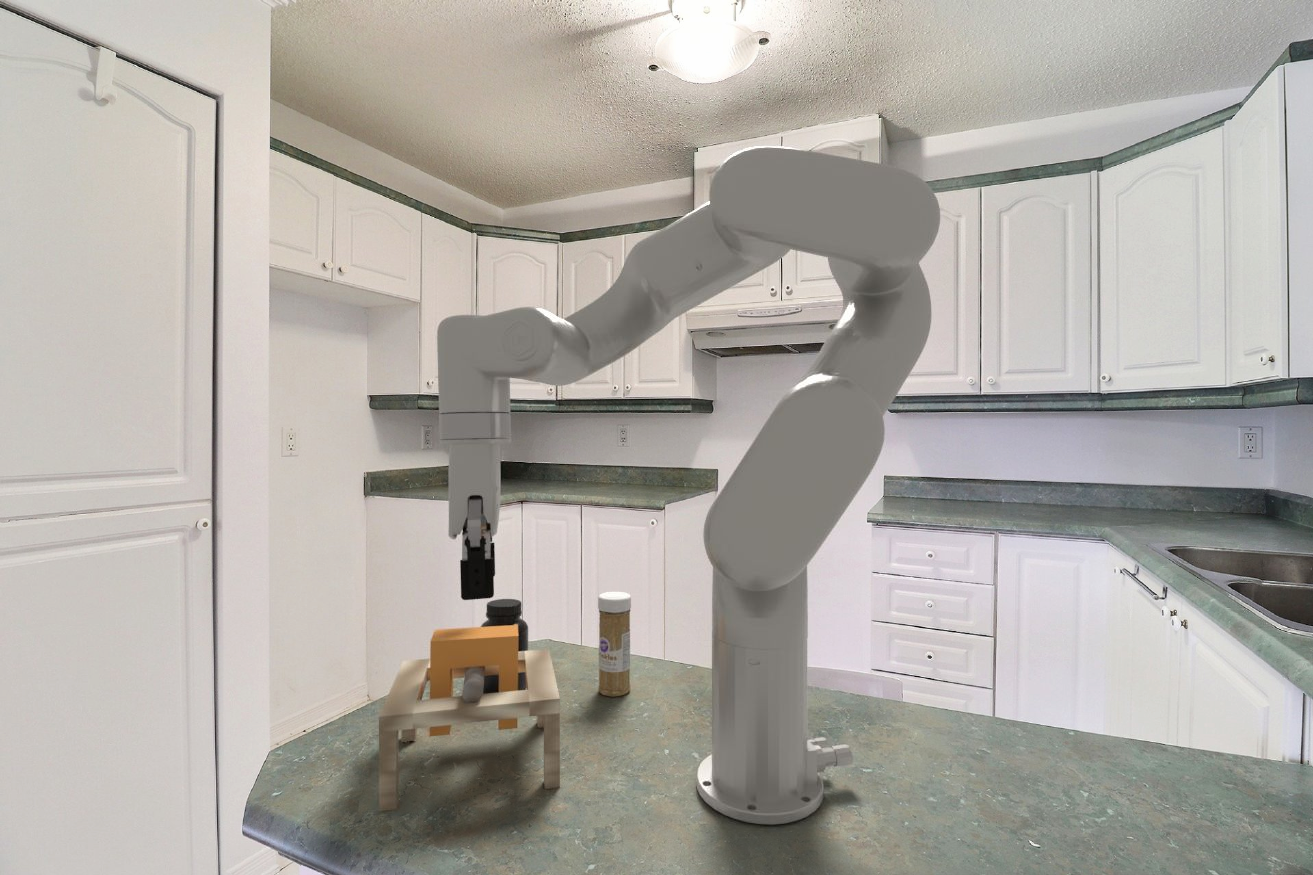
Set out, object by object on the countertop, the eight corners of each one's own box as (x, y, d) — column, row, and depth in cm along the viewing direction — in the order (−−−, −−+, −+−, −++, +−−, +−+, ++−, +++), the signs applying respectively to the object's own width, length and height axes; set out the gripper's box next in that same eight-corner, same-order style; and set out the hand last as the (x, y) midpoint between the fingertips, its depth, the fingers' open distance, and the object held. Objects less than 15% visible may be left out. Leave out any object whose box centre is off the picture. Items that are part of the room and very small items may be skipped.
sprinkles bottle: (591, 694, 86) (591, 596, 86) (609, 682, 90) (609, 589, 90) (620, 700, 84) (620, 600, 84) (637, 688, 88) (637, 592, 88)
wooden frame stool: (549, 721, 78) (549, 632, 78) (559, 787, 63) (559, 678, 63) (403, 736, 74) (403, 643, 74) (379, 811, 59) (378, 695, 59)
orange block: (516, 712, 72) (517, 624, 72) (517, 728, 68) (518, 635, 68) (433, 719, 69) (434, 629, 69) (429, 736, 66) (430, 641, 66)
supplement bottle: (522, 698, 85) (521, 609, 85) (471, 697, 85) (471, 609, 85) (533, 678, 92) (532, 596, 92) (486, 677, 92) (486, 596, 92)
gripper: (446, 432, 76) (450, 573, 76) (430, 430, 59) (434, 611, 59) (510, 431, 78) (513, 569, 78) (512, 429, 61) (516, 604, 61)
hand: (479, 587), depth 68 cm, fingers open, 9 cm apart
